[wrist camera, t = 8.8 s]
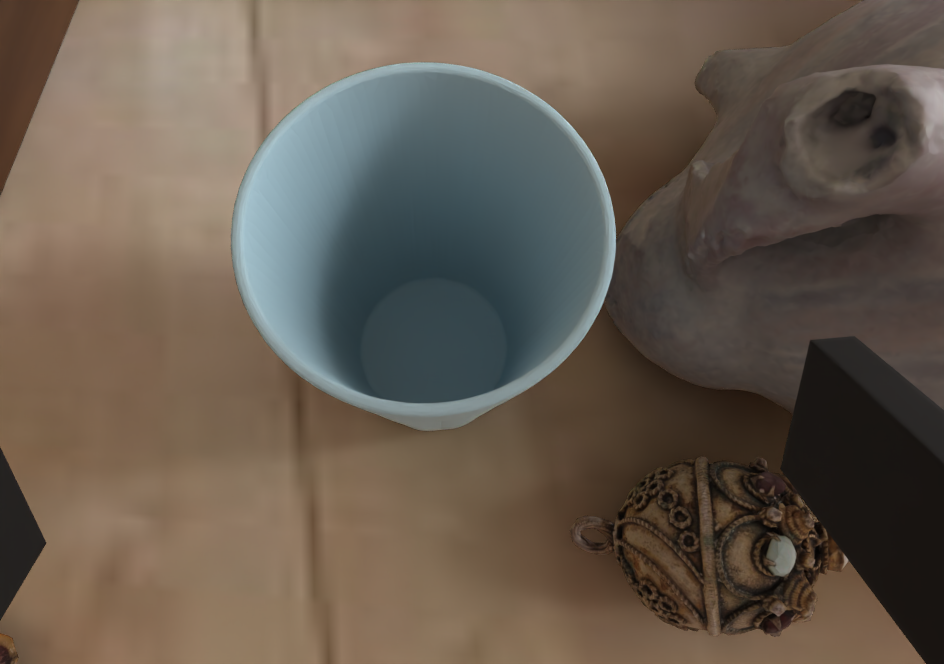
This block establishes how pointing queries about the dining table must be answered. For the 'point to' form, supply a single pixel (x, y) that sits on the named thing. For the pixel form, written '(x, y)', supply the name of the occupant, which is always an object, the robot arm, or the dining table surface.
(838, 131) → the piggy bank
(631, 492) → the pendant
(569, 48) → the dining table surface
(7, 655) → the cured meat
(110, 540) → the dining table surface
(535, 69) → the dining table surface
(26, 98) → the stand
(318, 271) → the cup
